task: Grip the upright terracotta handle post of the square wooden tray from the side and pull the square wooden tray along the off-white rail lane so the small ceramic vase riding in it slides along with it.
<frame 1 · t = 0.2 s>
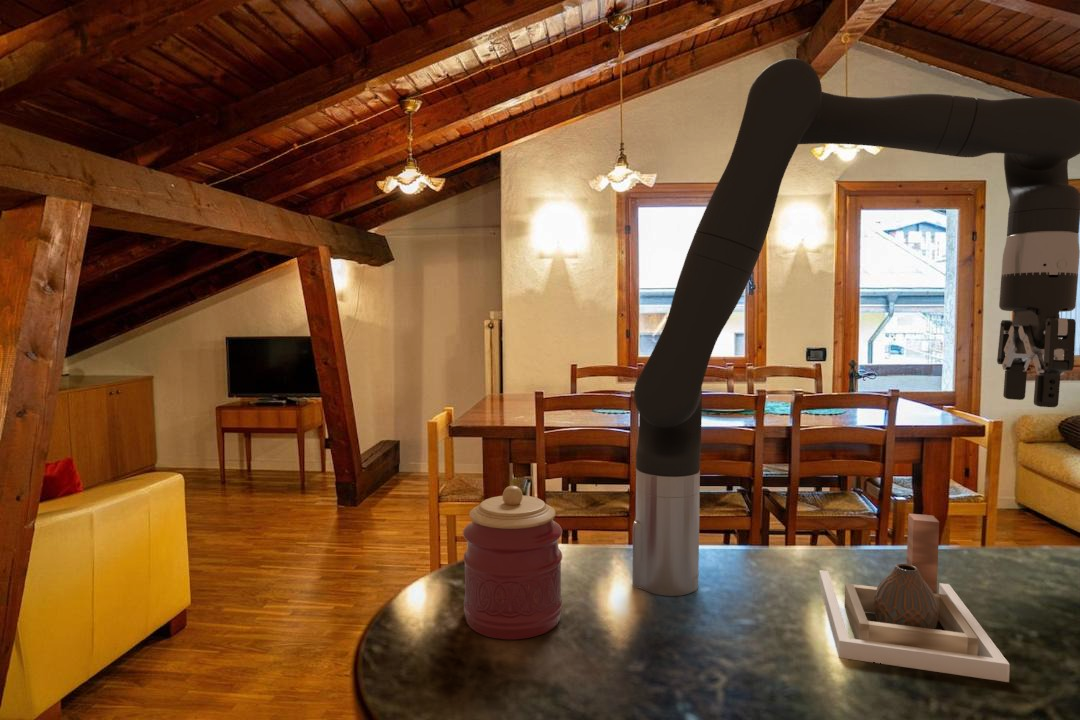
hand: (1028, 402, 80), 29 cm above the kitchen counter, tool pointing down, fingers open, 8 cm apart
vase: (904, 637, 80), resting in square wooden tray
square wooden tray: (901, 577, 82), point 6 cm above the kitchen counter, slide at 0.0 cm
canister: (513, 619, 85), on the kitchen counter
rail lane: (898, 623, 83), on the kitchen counter
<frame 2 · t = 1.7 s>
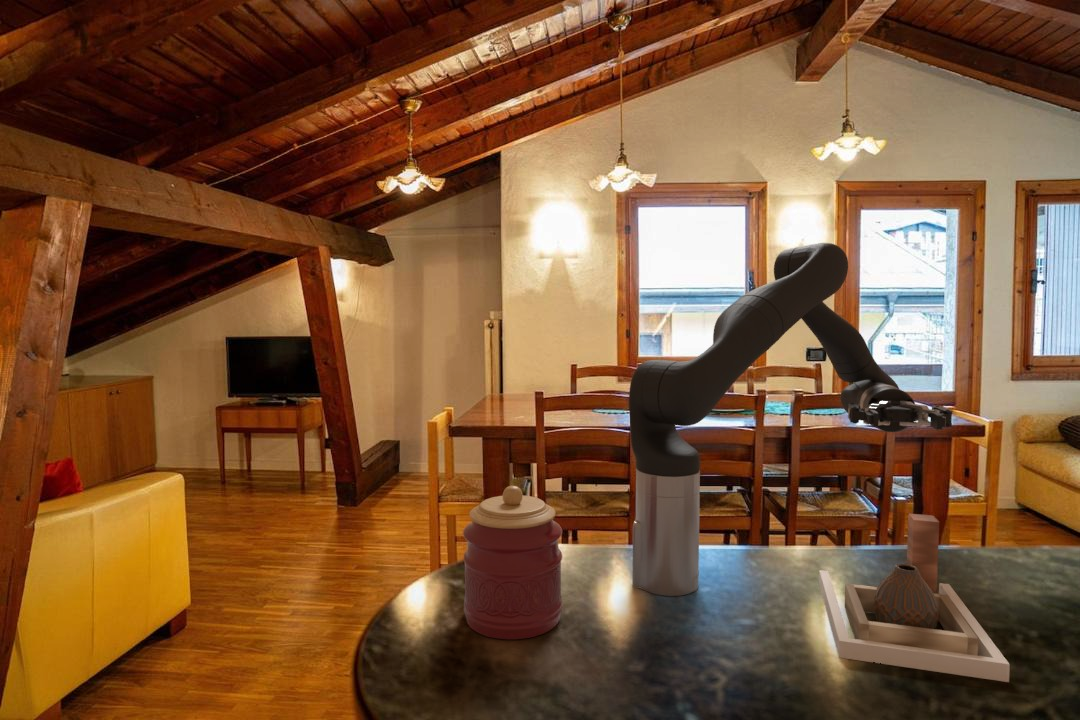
hand: (907, 421, 97), 24 cm above the kitchen counter, tool horizontal, fingers open, 8 cm apart
nothing on the kitchen counter moved.
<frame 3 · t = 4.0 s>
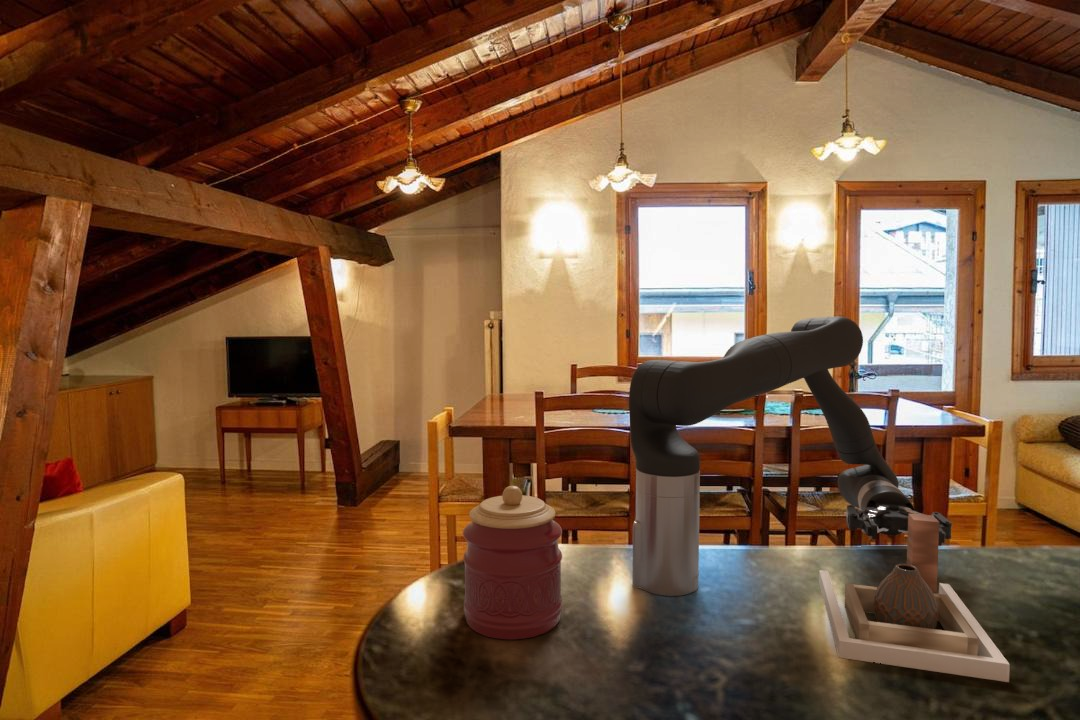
hand: (906, 536, 95), 7 cm above the kitchen counter, tool horizontal, fingers open, 8 cm apart
nothing on the kitchen counter moved.
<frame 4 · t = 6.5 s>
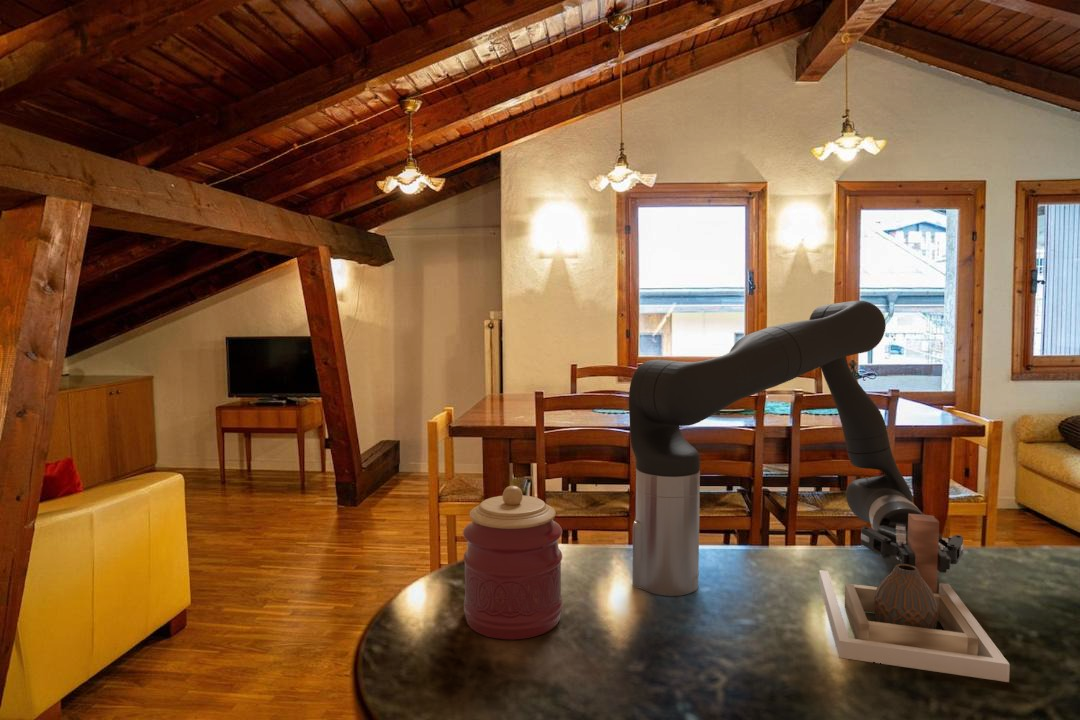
hand: (928, 563, 85), 7 cm above the kitchen counter, tool horizontal, fingers closed on square wooden tray, 3 cm apart
square wooden tray: (901, 577, 82), point 6 cm above the kitchen counter, slide at 0.0 cm, touching gripper
everything else where it was.
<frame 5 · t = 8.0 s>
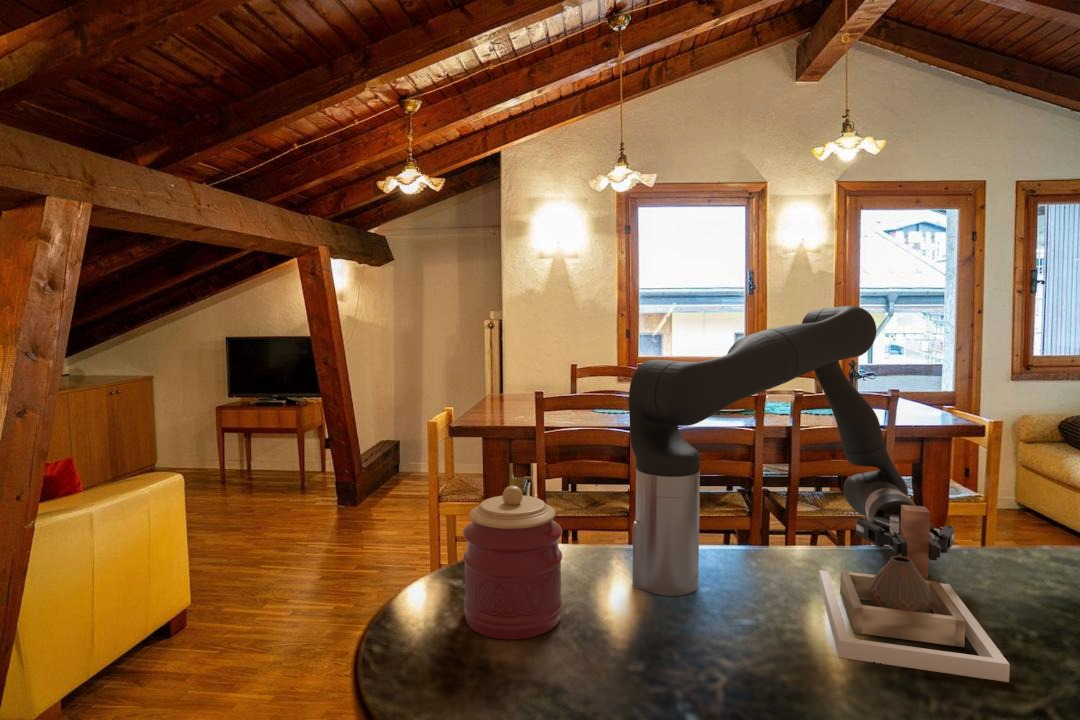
hand: (919, 551, 89), 7 cm above the kitchen counter, tool horizontal, fingers closed on square wooden tray, 3 cm apart
vase: (899, 627, 82), resting in square wooden tray
square wooden tray: (893, 565, 86), point 6 cm above the kitchen counter, slide at 4.4 cm, touching gripper, vase
everything else where it was.
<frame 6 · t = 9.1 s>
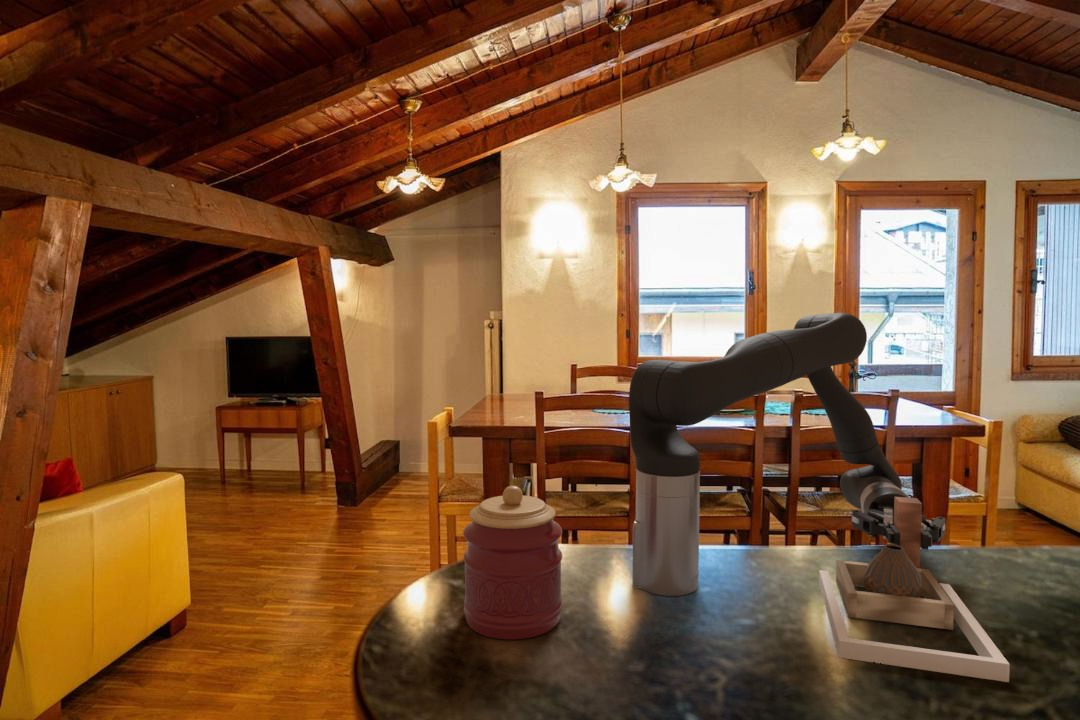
hand: (911, 541, 93), 7 cm above the kitchen counter, tool horizontal, fingers closed on square wooden tray, 3 cm apart
vase: (891, 612, 86), resting in square wooden tray
square wooden tray: (886, 553, 90), point 6 cm above the kitchen counter, slide at 8.9 cm, touching gripper, vase
everything else where it was.
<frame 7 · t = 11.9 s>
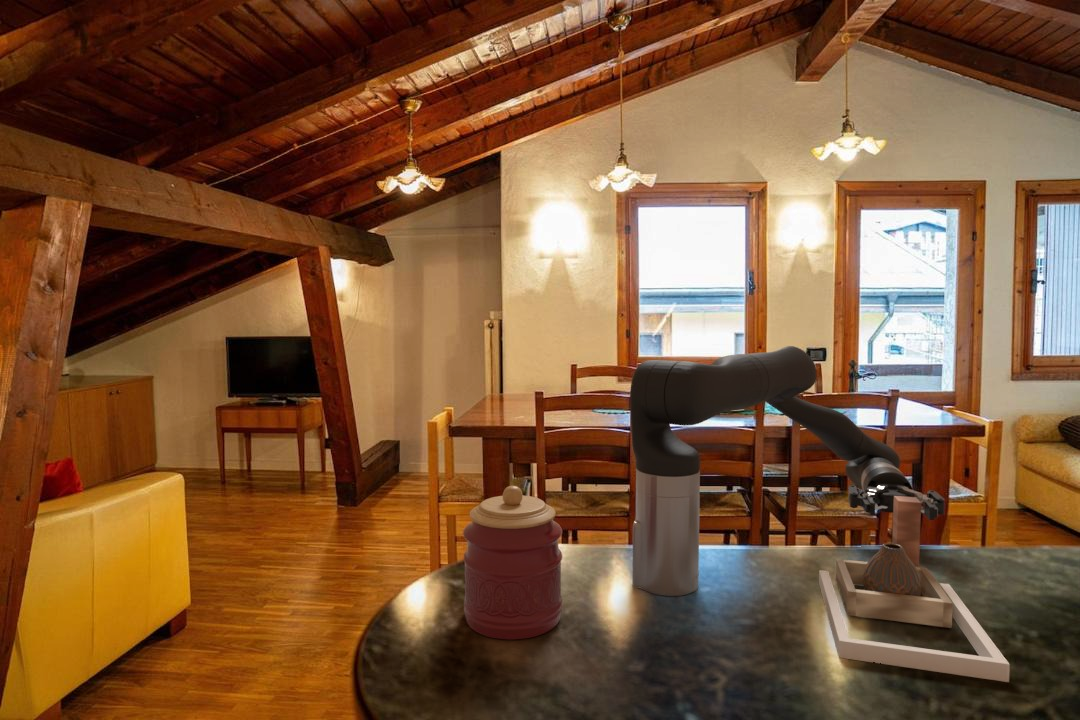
hand: (902, 511, 104), 8 cm above the kitchen counter, tool horizontal, fingers open, 8 cm apart
vase: (890, 610, 87), resting in square wooden tray
square wooden tray: (885, 552, 91), point 6 cm above the kitchen counter, slide at 9.4 cm
everything else where it was.
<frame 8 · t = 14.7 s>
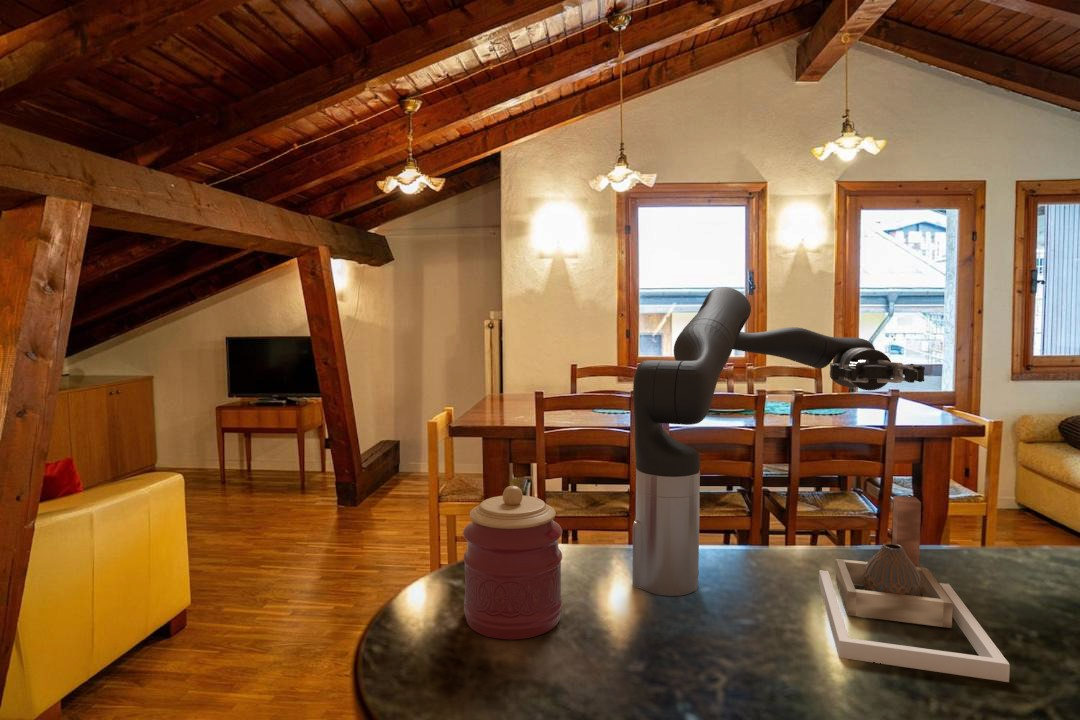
hand: (882, 375, 105), 30 cm above the kitchen counter, tool horizontal, fingers open, 8 cm apart
nothing on the kitchen counter moved.
at the end: square wooden tray slide at 9.4 cm; vase inside the target area (1.7 cm from its centre), resting in square wooden tray; vase tilted 0° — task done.
